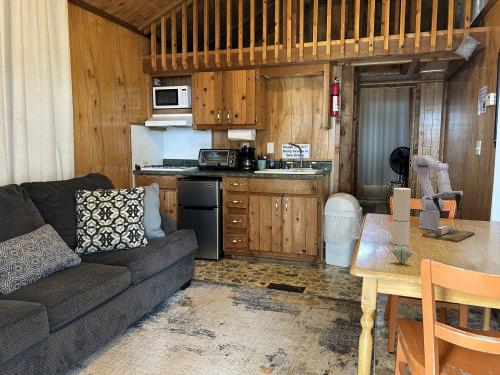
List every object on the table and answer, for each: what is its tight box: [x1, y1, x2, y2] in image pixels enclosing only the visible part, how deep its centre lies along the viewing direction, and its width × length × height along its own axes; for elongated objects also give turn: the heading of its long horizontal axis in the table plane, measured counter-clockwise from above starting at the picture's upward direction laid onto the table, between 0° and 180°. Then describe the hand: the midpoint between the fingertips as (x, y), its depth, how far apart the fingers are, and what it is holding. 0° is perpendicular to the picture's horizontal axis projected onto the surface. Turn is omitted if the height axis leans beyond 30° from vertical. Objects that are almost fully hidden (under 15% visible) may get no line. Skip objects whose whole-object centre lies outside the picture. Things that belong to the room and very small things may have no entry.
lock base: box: [421, 228, 476, 243], centre depth 188 cm, size 16×22×2 cm
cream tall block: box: [391, 187, 412, 246], centre depth 173 cm, size 7×7×25 cm
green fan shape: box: [390, 245, 414, 265], centre depth 144 cm, size 8×4×7 cm, turn 57°
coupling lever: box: [435, 223, 454, 236], centre depth 185 cm, size 14×4×3 cm, turn 132°
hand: (449, 211), depth 184 cm, fingers open, 7 cm apart
